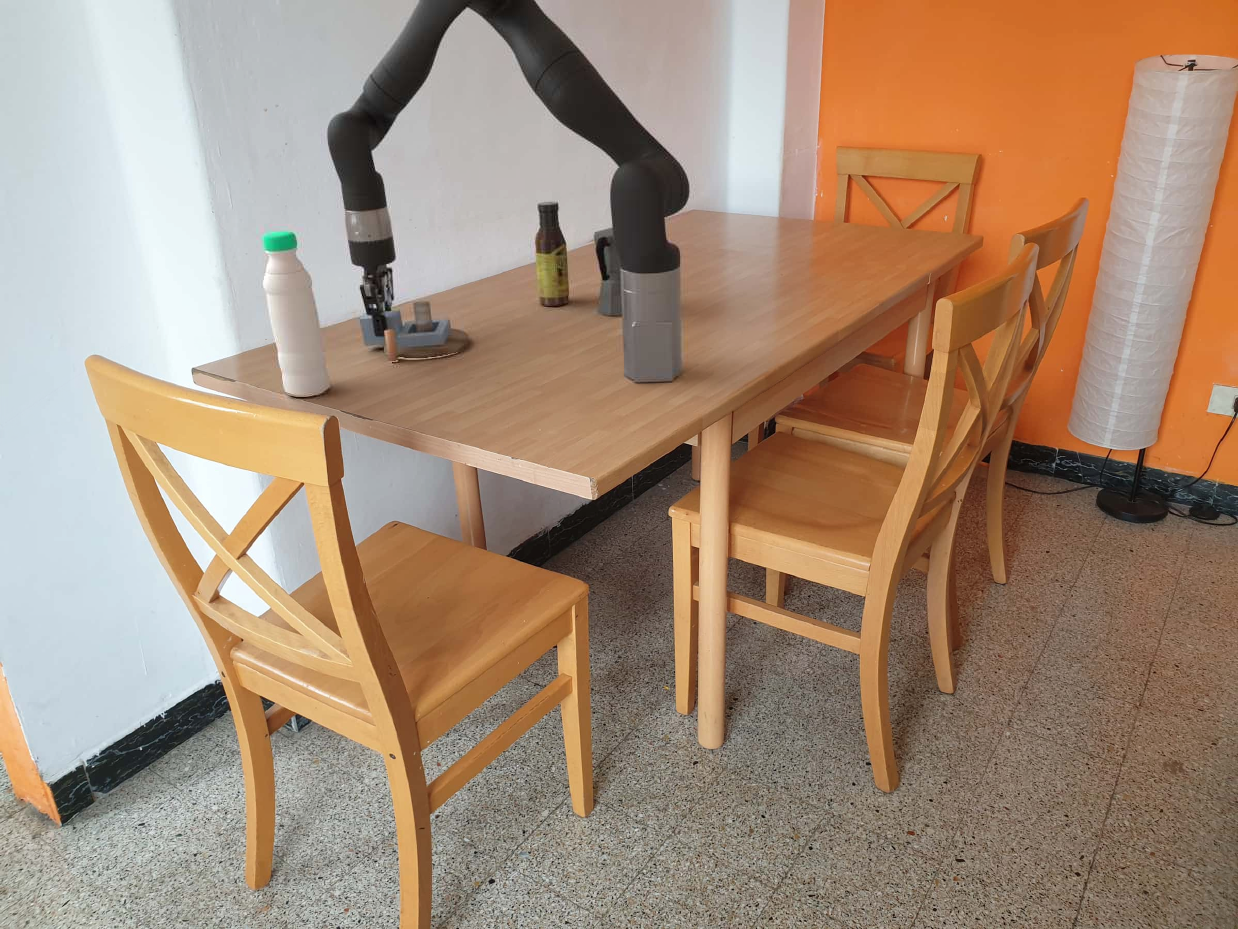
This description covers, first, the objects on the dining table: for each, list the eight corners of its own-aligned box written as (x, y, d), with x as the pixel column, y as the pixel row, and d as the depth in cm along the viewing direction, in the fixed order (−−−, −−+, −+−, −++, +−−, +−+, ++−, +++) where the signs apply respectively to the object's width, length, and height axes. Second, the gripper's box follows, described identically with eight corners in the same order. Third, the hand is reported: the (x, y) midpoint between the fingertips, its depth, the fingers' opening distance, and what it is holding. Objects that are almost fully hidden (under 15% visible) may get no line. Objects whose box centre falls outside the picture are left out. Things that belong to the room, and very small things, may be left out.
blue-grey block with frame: (451, 328, 174) (446, 302, 171) (444, 344, 166) (439, 317, 164) (372, 334, 174) (366, 308, 172) (361, 350, 167) (355, 323, 165)
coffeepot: (612, 299, 194) (608, 209, 187) (655, 303, 191) (653, 211, 183) (579, 320, 182) (573, 225, 174) (624, 325, 178) (620, 227, 170)
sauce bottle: (565, 307, 190) (558, 206, 182) (535, 307, 192) (527, 206, 183) (573, 298, 196) (567, 199, 188) (544, 298, 197) (536, 200, 189)
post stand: (462, 358, 164) (457, 313, 160) (375, 361, 164) (368, 316, 161) (475, 332, 177) (470, 290, 174) (394, 335, 178) (388, 293, 174)
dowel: (397, 362, 163) (392, 331, 161) (387, 363, 163) (383, 332, 161) (399, 359, 165) (394, 329, 162) (390, 360, 165) (385, 329, 162)
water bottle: (314, 380, 157) (285, 226, 146) (340, 389, 153) (312, 231, 142) (276, 393, 152) (243, 235, 141) (301, 402, 148) (270, 240, 137)
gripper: (382, 242, 156) (396, 343, 163) (401, 225, 169) (413, 319, 176) (336, 244, 156) (353, 345, 163) (358, 227, 169) (373, 321, 176)
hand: (384, 331), depth 170 cm, fingers open, 4 cm apart
